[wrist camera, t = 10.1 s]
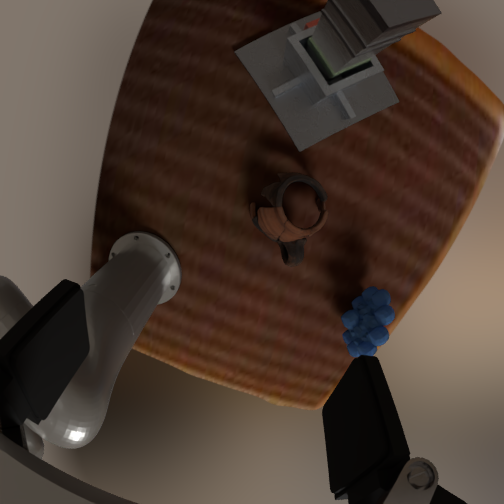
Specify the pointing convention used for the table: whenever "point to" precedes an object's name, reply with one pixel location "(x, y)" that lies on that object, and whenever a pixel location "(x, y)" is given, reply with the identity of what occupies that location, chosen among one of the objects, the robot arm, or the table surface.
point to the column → (362, 31)
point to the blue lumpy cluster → (368, 322)
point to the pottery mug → (277, 223)
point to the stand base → (312, 85)
